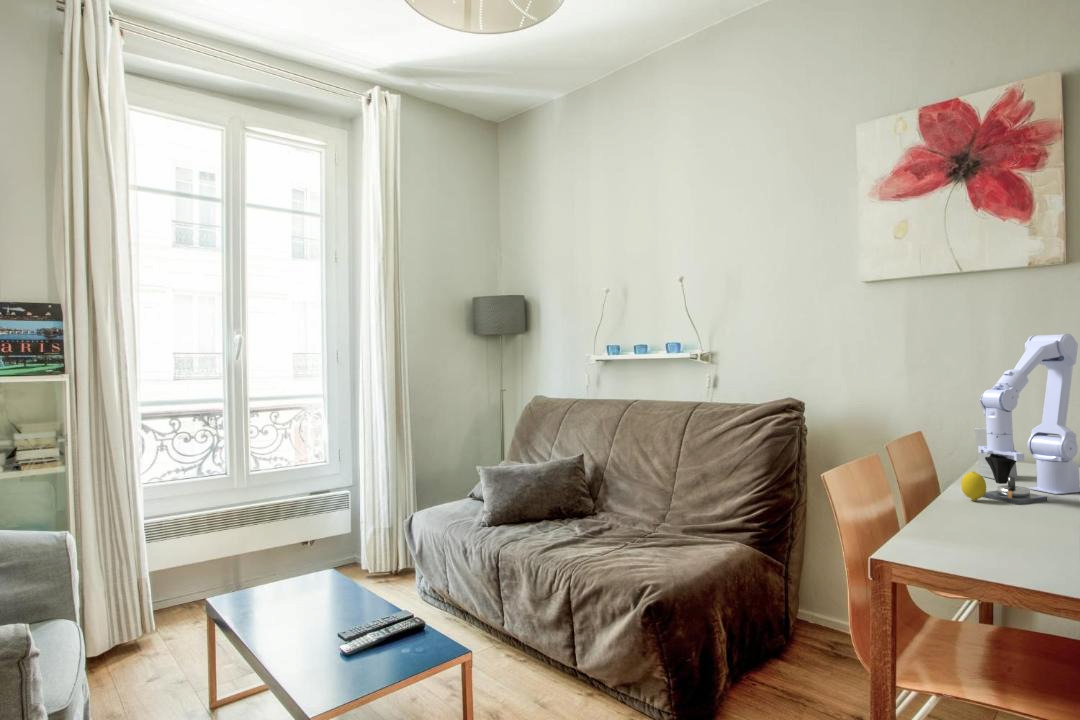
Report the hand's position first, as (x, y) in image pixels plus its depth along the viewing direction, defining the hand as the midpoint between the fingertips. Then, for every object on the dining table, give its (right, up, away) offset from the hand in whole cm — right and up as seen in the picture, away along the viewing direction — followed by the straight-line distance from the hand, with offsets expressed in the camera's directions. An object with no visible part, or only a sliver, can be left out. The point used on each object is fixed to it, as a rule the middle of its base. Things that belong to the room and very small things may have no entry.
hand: (1001, 483), depth 167 cm
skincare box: (+18, -4, +26) cm, 31 cm away
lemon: (-9, -5, -2) cm, 10 cm away
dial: (+2, -3, -1) cm, 4 cm away
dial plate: (+2, -4, -1) cm, 5 cm away
